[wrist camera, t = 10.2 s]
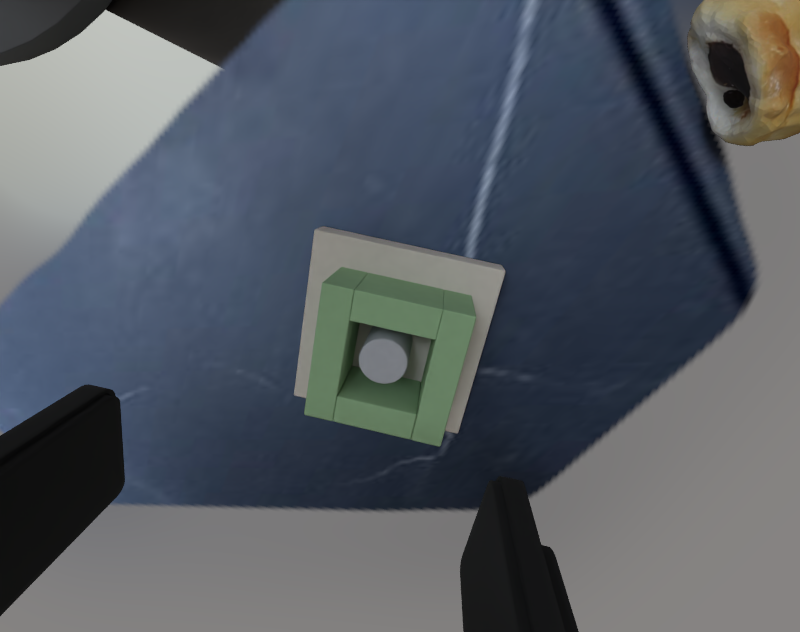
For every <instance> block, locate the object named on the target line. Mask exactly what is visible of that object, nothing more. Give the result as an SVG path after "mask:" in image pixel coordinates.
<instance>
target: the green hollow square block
mask: <svg viewBox="0 0 800 632" xmlns="http://www.w3.org/2000/svg"><path fill="white" fill-rule="evenodd" d="M475 322H476V313H475V308H474V304H473V300H472V296H471V295H467V294H462V293H458V292H453V291H449V290H444V291H443V289H440V288H436V287H431V286H427V285H422V284H418V283H413V282H409V281H404V280H400V279H395V278H391V277H386V276H382V275H377V274H373V273H369V274H368V273H367V272H363V271H359V270H354V269H350V268H345V267H340V268H339V269H338V270H337V271H336V272H334V273H333V274H332V275H331V276H330V277H328V278H327V279H326V280H325V281H324V282H322V286H321V294H320V301H319V308H318V316H317V323H316V330H315V338H314V345H313V352H312V359H311V367H310V374H309V381H308V389H307V396H306V403H305V411H304V415H308V416H312V417H316V418H320V419H325V420H329V421H333V420H334V422H338V423H342V424H347V425H351V426H355V427H359V428H364V429H368V430H372V431H376V432H380V433H385V434H389V435H393V436H397V437H402V438H406V439H411V440H413V441H418V442H422V443H426V444H430V445H435V446H439V447H440V446H441V443H442V439H443V436H444V432H445V428H446V425H447V421H448V418H449V414H450V411H451V407H452V404H453V400H454V396H455V393H456V389H457V386H458V382H459V379H460V375H461V372H462V368H463V364H464V361H465V357H466V354H467V350H468V347H469V343H470V340H471V336H472V332H473V329H474V325H475ZM360 323H363V324H367V325H372V326H376V327H381V328H385V329H389V330H394V331H398V332H403V333H407V334H411V335H416V336H420V337H425V338H429V339H431V343H430V347H429V352H428V356H427V360H426V364H425V368H424V372H423V376H422V380H421V382H420V381H416V380H412V379H408V378H403V377H401V378H400V379H399V380H397V381H395V382H392V383H387V384H382V383H377V382H374V381H372V380H370V379H369V378H368V377H366V376H365V374H364V373H363V372H362V370H361V368H360V367H356V366H352V364H353V359H354V353H355V347H356V342H357V336H358V330H359V324H360Z"/></svg>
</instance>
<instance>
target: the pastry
mask: <svg viewBox="0 0 800 632" xmlns="http://www.w3.org/2000/svg"><path fill="white" fill-rule="evenodd" d="M687 40H688V52H689V57H690V62H691V68H692V71H693V72H694V74H695V75H696V77H697V80H698V83H699V85H700V86H701V88H702V89H703V91H704V92H705V93H706V95H707V105H706V109H707V115H708V120H709V122H710V125H711V129H712V131H713V132H714V133H715V134H716V135H718V136H719V137H720V138H721V139H723V140H724V141H725V142H728V143H731V144H736V145H743V146H753V145H755V144H757V143H759V142H762V141H771V140H780V139H785V138H788V137H790V136H793V135H795V134H798V133H800V0H703V2H702V3H701V4H700V5H699V6H698V7H697V9H696V10H695V12H694V15H693V17H692V20H691V28H690V30H689V32H688V36H687Z"/></svg>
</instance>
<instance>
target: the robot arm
mask: <svg viewBox="0 0 800 632" xmlns="http://www.w3.org/2000/svg"><path fill="white" fill-rule="evenodd" d="M124 482H125V475H124V458H123V442H122V425H121V409H120V400H119V398H118V397H116V396H115V393H114V391H113V390H111V389H107V388H102V387H98V386H93V385H84V386H81V387H79V388H78V389H76V390H74V391H73V392H71V393H70V394H68V395H66V396H65V397H63V398H61V399H60V400H58V401H56V402H55V403H53V404H52V405H50V406H48V407H47V408H45V409H43V410H42V411H40V412H38V413H37V414H35V415H34V416H32V417H30V418H29V419H27V420H25V421H24V422H22V423H20V424H19V425H17V426H16V427H14V428H12V429H11V430H9V431H7V432H6V433H4V434H2V435H1V436H0V616H1V615H2V614H3V613H4V612H5V611H6V610H7V609H8V608H9V607H10V606H11V605H12V603H13V602H14V601H15V600H16V599H17V598H18V597H19V596H20V595H21V594H22V593H23V592H24V591H25V590H26V589H27V588H28V587H29V586H30V585H31V584H32V583H33V582H34V581H35V580H36V579H37V578H38V577H39V576H40V575H41V574H42V573H43V572H44V571H45V570H46V569H47V568H48V567H49V566H50V565H51V564H52V562H54V561H55V559H56V558H57V557H58V556H59V555H60V554H61V553H62V552H63V551H64V550H65V549H66V548H67V547H68V546H69V545H70V544H71V543H72V542H73V541H74V540H75V539H76V538H77V537H78V536H79V535H80V534H81V533H82V532H83V531H84V530H85V529H86V528H87V527H88V526H89V525H90V524H91V523H92V522H93V520H95V518H96V517H97V516H98V515H99V514H100V513H101V512H102V511H103V510H104V509H105V508H106V507H107V506H108V505H109V504H110V503H111V502H112V501H113V500H114V499H115V498H116V497H117V496H118V495H119V493H120V492H121V490H122V488H123V486H124ZM460 578H461V595H462V612H463V631H464V632H578V629H577V625H576V622H575V619H574V616H573V613H572V609H571V606H570V603H569V599H568V596H567V593H566V589H565V586H564V583H563V580H562V576H561V573H560V570H559V566H558V563H557V560H556V557H555V555H554V552H553V550H552V549H551V548H550V547H547V546H543V545H541V542H540V539H539V535H538V531H537V528H536V524H535V521H534V517H533V513H532V510H531V506H530V503H529V499H528V495H527V492H526V488H525V485H524V482H523V481H521V480H516V479H512V478H507V477H503V476H499V477H498V478H497V480H496V481H492V480H490V481H489V483H488V485H487V488H486V490H485V493H484V496H483V499H482V502H481V505H480V507H479V510H478V513H477V516H476V519H475V521H474V524H473V527H472V530H471V533H470V536H469V538H468V541H467V544H466V547H465V550H464V552H463V556H462V559H461V566H460Z"/></svg>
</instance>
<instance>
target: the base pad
mask: <svg viewBox="0 0 800 632" xmlns="http://www.w3.org/2000/svg"><path fill="white" fill-rule="evenodd" d="M340 267H345V268H350V269H354V270H359V271H363V272H367V273H368V274H369V273H373V274H377V275H382V276H386V277H391V278H395V279H400V280H404V281H409V282H413V283H418V284H422V285H427V286H431V287H436V288H440V289H443V291H444V290H449V291H453V292H458V293H462V294H467V295H471V296H472V300H473V304H474V308H475V313H476V322H475V325H474V329H473V332H472V336H471V340H470V343H469V347H468V350H467V354H466V357H465V361H464V364H463V368H462V372H461V375H460V379H459V382H458V386H457V389H456V393H455V396H454V400H453V404H452V407H451V411H450V414H449V418H448V421H447V425H446V428H445V431H448V432H453V433H458V432H459V428H460V425H461V421H462V418H463V415H464V411H465V408H466V404H467V401H468V398H469V394H470V391H471V388H472V384H473V381H474V377H475V374H476V371H477V367H478V364H479V360H480V357H481V354H482V350H483V347H484V343H485V340H486V337H487V333H488V330H489V327H490V323H491V320H492V316H493V313H494V310H495V306H496V303H497V299H498V296H499V293H500V289H501V286H502V282H503V279H504V276H505V270H504V268H503V267H502V265H499V264H494V263H490V262H485V261H481V260H476V259H471V258H467V257H462V256H458V255H453V254H448V253H444V252H439V251H435V250H430V249H426V248H421V247H416V246H412V245H407V244H403V243H398V242H393V241H389V240H384V239H380V238H375V237H370V236H366V235H361V234H357V233H352V232H348V231H343V230H338V229H334V228H329V227H325V226H323V227H320V228H317V229H315V230H314V238H313V246H312V254H311V262H310V270H309V278H308V286H307V294H306V302H305V310H304V318H303V326H302V334H301V343H300V351H299V359H298V367H297V375H296V383H295V391H294V395H295V396H299V397H303V398H306V396H307V389H308V381H309V374H310V367H311V359H312V352H313V345H314V338H315V330H316V323H317V316H318V308H319V301H320V294H321V286H322V282H324V281H325V280H326V279H327V278H328V277H330V276H331V275H332V274H333V273H334V272H336V271H337V270H338V269H339V268H340ZM430 343H431V339H429V338H425V337H420V336H416V335H411V334H407V333H403V332H398V331H394V330H389V329H385V328H381V327H376V326H372V325H367V324H363V323H360V324H359V330H358V336H357V342H356V347H355V353H354V359H353V364H352V366H356V367H360V368H361V370H362V372H363V373H364V374H365V376H366V377H368V378H369V379H370V380H372V381H374V382H377V383H382V384H387V383H392V382H395V381H397V380H399V379H400V378H401V377H403V378H408V379H412V380H416V381H420V382H421V380H422V376H423V372H424V368H425V364H426V360H427V356H428V352H429V347H430Z"/></svg>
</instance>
